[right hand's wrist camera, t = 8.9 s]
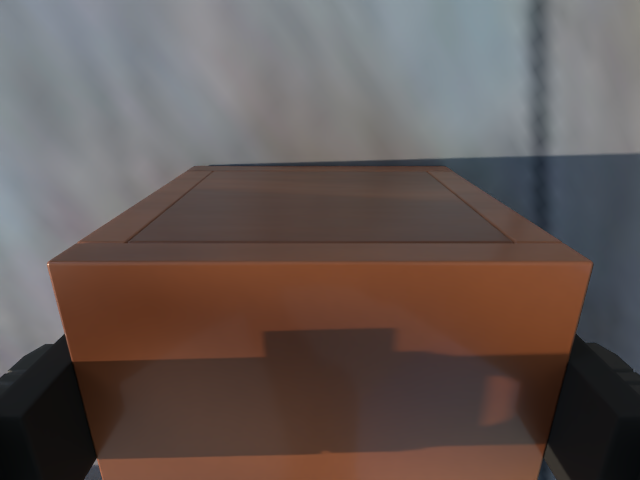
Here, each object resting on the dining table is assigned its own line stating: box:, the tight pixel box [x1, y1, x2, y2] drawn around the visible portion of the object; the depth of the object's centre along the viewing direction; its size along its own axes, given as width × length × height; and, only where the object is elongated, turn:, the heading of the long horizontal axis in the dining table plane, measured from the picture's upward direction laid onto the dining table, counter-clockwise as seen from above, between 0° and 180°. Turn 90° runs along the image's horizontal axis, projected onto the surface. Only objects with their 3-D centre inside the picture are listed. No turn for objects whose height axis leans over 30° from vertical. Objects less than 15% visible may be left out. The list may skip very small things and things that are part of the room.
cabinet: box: [47, 166, 593, 480], centre depth 16 cm, size 19×10×10 cm, turn 0°
